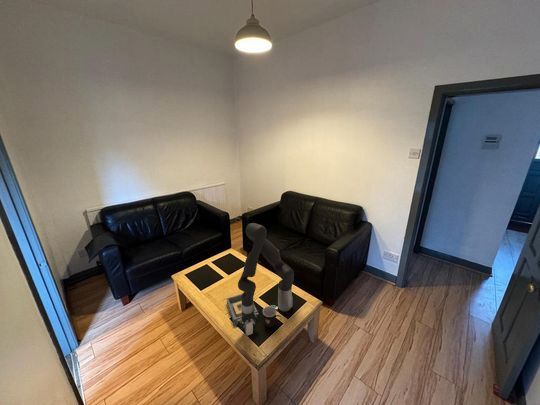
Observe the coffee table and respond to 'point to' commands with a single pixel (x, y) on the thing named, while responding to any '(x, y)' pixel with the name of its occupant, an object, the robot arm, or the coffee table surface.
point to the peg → (249, 328)
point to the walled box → (236, 308)
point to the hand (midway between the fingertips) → (248, 329)
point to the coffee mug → (270, 316)
